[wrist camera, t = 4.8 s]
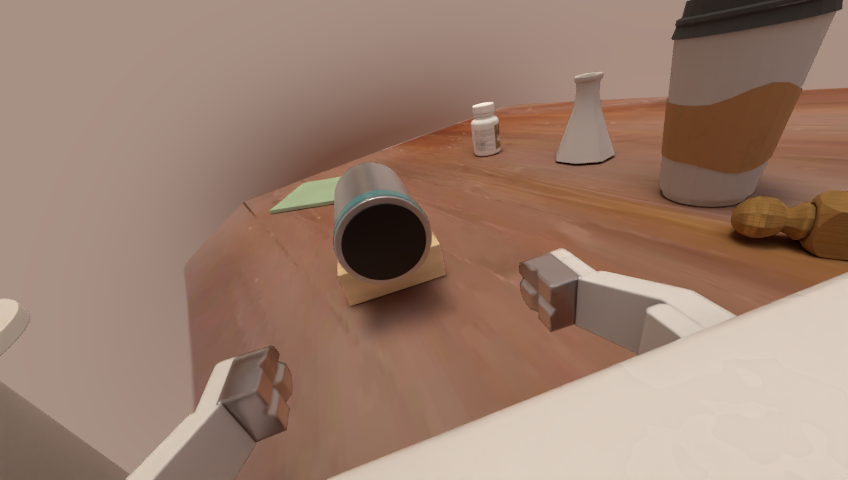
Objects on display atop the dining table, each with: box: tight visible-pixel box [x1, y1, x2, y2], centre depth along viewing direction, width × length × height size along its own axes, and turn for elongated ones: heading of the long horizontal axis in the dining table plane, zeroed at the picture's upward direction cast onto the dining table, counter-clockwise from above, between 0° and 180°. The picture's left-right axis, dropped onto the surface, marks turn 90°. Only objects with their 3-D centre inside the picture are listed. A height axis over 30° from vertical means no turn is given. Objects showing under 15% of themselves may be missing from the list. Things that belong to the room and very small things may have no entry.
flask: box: [556, 72, 615, 164], centre depth 39 cm, size 7×7×10 cm
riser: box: [337, 231, 446, 306], centre depth 27 cm, size 8×8×3 cm
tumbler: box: [333, 162, 432, 284], centre depth 23 cm, size 9×6×6 cm
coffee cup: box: [659, 0, 843, 207], centre depth 24 cm, size 8×8×15 cm
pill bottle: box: [471, 102, 500, 156], centre depth 50 cm, size 4×4×8 cm
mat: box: [270, 177, 340, 214], centre depth 51 cm, size 12×12×1 cm
